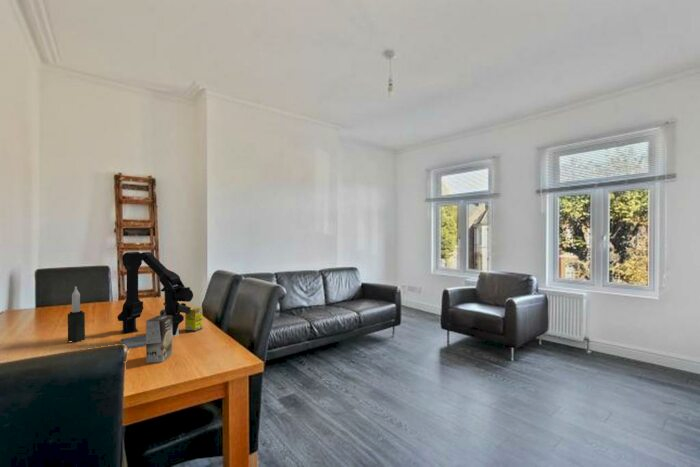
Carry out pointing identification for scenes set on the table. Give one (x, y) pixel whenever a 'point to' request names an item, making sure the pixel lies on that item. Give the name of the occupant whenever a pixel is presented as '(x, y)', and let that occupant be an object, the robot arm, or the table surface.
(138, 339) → the rubber mat
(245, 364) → the table surface
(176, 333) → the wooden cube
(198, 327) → the supplement box
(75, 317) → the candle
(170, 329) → the coffee box
